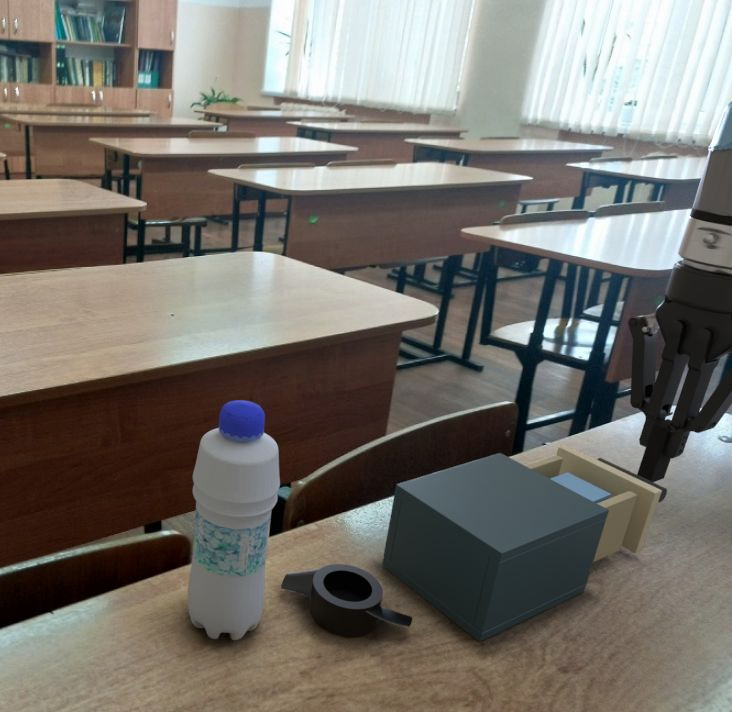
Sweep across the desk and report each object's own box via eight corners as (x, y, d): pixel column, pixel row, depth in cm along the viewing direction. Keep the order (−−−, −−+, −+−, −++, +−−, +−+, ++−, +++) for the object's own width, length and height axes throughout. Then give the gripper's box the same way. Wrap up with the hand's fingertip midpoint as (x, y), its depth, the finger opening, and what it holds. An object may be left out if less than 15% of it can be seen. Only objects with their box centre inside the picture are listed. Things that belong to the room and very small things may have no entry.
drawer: (578, 490, 82) (593, 435, 80) (670, 538, 74) (690, 478, 72) (468, 530, 74) (482, 470, 71) (559, 589, 66) (578, 524, 63)
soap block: (556, 510, 76) (567, 471, 74) (599, 534, 72) (611, 493, 71) (529, 521, 74) (539, 482, 72) (571, 546, 70) (583, 505, 68)
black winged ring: (349, 668, 57) (354, 638, 56) (272, 592, 65) (275, 565, 64) (419, 635, 60) (425, 607, 59) (338, 567, 68) (342, 541, 67)
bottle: (278, 639, 59) (305, 417, 52) (202, 658, 57) (220, 429, 50) (241, 587, 65) (262, 381, 58) (171, 603, 63) (183, 390, 55)
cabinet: (482, 527, 76) (500, 452, 73) (584, 592, 67) (609, 509, 64) (381, 565, 69) (396, 484, 66) (479, 642, 60) (501, 553, 57)
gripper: (632, 253, 74) (573, 457, 83) (779, 287, 64) (694, 516, 72) (672, 248, 78) (612, 444, 86) (818, 280, 67) (733, 499, 76)
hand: (650, 477), depth 79 cm, fingers closed
